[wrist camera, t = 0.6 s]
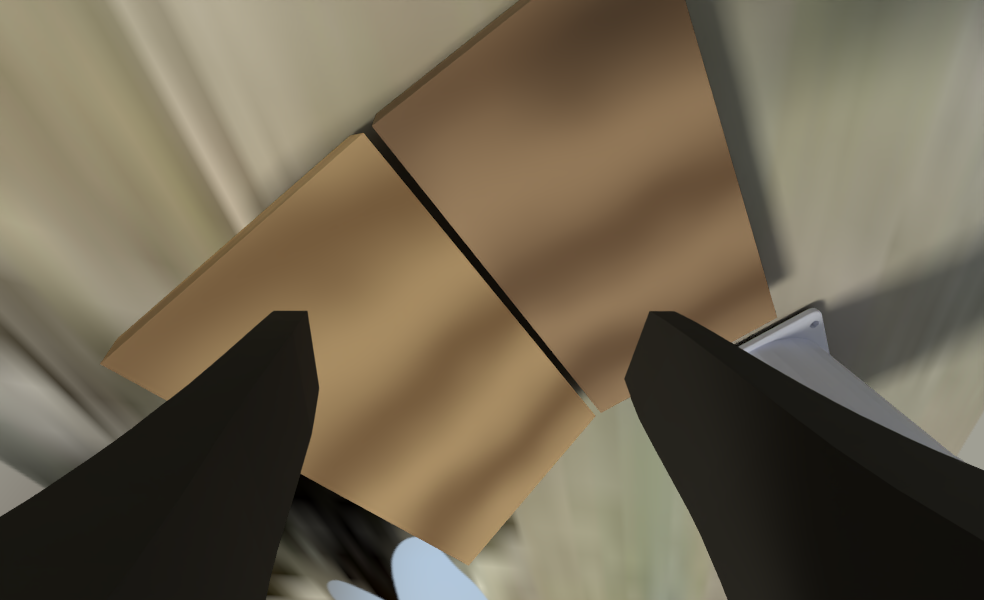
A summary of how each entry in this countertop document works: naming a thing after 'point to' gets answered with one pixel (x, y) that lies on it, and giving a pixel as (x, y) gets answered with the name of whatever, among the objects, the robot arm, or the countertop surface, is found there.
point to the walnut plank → (587, 177)
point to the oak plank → (378, 352)
